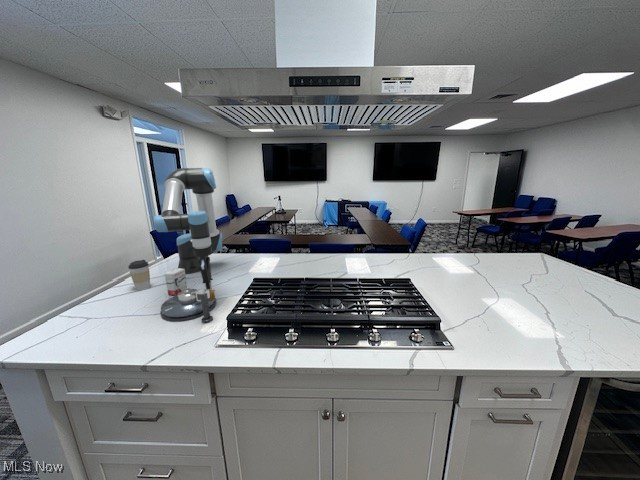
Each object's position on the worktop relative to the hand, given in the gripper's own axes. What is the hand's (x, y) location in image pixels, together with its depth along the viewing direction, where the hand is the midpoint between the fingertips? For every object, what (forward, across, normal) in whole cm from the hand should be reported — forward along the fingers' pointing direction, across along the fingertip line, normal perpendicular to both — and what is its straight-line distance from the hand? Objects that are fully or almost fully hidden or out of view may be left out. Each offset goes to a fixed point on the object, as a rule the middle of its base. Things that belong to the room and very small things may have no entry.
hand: (209, 294), depth 117 cm
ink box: (+5, -19, -19) cm, 27 cm away
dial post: (+5, +15, 0) cm, 15 cm away
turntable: (+4, +1, -9) cm, 10 cm away
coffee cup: (+5, -31, -39) cm, 50 cm away
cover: (+2, +1, -9) cm, 9 cm away
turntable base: (+5, +1, -9) cm, 10 cm away
